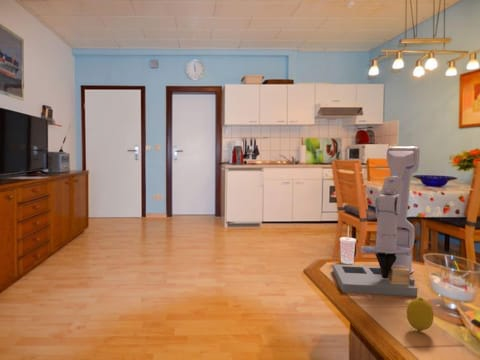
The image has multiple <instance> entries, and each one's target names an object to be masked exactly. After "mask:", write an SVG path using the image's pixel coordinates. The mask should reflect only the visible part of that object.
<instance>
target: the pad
mask: <svg viewBox="0 0 480 360" xmlns="http://www.w3.org/2000/svg"><path fill="white" fill-rule="evenodd" d="M387 279H388V278H387ZM388 280H389V279H388ZM389 282H390V283H391V284H405V285H411V284H408V283H392V282H391V281H390V280H389Z"/></svg>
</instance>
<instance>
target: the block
mask: <svg viewBox="0 0 480 360" xmlns="http://www.w3.org/2000/svg"><path fill="white" fill-rule="evenodd" d="M410 276H411V273H410V270H409V269H408V268H407V267H406V266H404V265H392V267H391V269H390V272H389V275H388V279H389V280H390V281H391V282H392V283H408V284H410Z"/></svg>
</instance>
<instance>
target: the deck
mask: <svg viewBox="0 0 480 360" xmlns="http://www.w3.org/2000/svg"><path fill="white" fill-rule="evenodd" d="M332 273H333V275H334V277H335V279H336V280H337V282H338V286H339V287H340V289H341V291H342V293H347V292H348V293H350V294H368V295H385V296H386V295H388V296H401V297H403V296H404V297H418V287H417V286H416V285H415V279H414V278H413V276H411V275H410V284H411V285H405V284H391V283H390V282H389V280H388V279H387V278H383V277H382V274H381V269H380V265H378V266H375V265H355V264H336V263H333V264H332ZM348 293H347V294H348Z"/></svg>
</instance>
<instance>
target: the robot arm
mask: <svg viewBox="0 0 480 360" xmlns="http://www.w3.org/2000/svg"><path fill="white" fill-rule="evenodd" d="M420 154H421V153H420V148H419V146H417V145H416V146H392V145H391V146H389V147H388V148H387V150H386V162H387V164H388V165H387V166H388V168H389V176H387V177H386V178H384V181H383V184H382V188H381V191H380V194H379V195H377V196H376V198H375V218H376V220H377V221H376V240H375V241H376V242H375V244H376V245H366V246H365V245H364V246H363V245H361V246H360V253H361V255H362V254H364V255H366V254H370V255H371V254H372V255H373V254H374V255H375V257H376V259H377V261H378V266H380V269H381V274H382V277H383V278H388V275H389V272H390V269H391V267H392V265H404V266H406V267H407V268H408V269H409V270H410V274H411V273H414V272H415V270H414V269H412V266H413V265H412V263H413V262H412V260H413V253H412V251H413V250H412V248H413V247H414V245H415V237H416V235H415V234H416V233H415V230H416V229H415V227H414V225H413V224H412V222H410V221H409V220H408V219H407V218H408V207H409V199H410V198H409V197H410V188H411V179H412V175H413V174H414V173H417V172H418V169H419V165H420Z"/></svg>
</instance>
